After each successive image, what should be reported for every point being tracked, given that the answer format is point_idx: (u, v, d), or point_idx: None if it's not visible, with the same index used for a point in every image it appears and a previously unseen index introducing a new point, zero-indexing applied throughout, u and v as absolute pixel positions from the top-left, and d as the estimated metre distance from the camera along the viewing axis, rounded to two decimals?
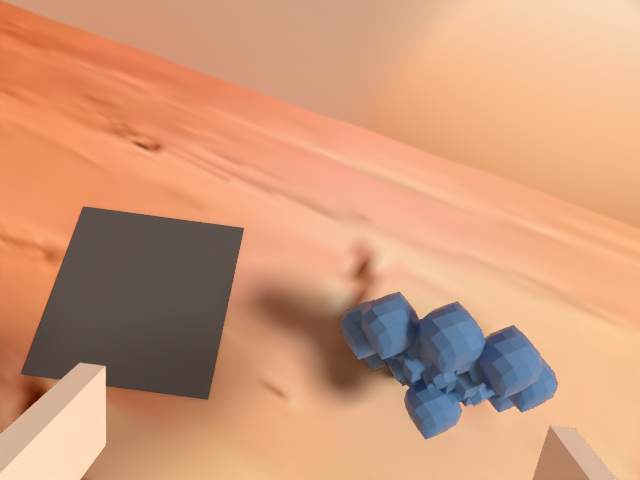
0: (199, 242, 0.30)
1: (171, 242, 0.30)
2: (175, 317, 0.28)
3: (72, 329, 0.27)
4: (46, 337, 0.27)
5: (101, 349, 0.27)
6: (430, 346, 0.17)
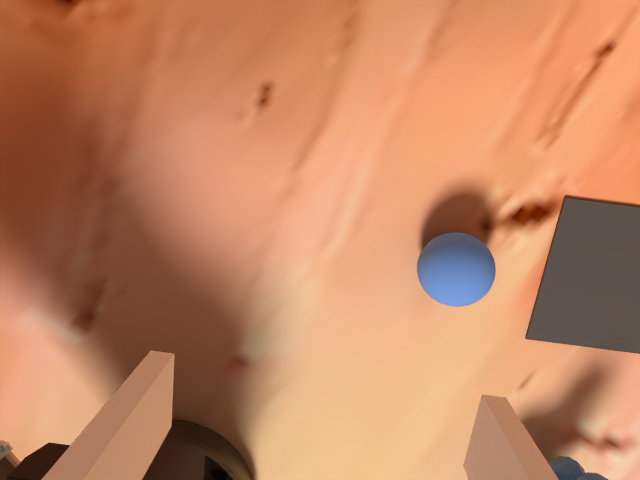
0: None
1: None
2: (595, 310, 0.34)
3: (598, 231, 0.32)
4: (594, 211, 0.32)
5: (576, 257, 0.33)
6: None
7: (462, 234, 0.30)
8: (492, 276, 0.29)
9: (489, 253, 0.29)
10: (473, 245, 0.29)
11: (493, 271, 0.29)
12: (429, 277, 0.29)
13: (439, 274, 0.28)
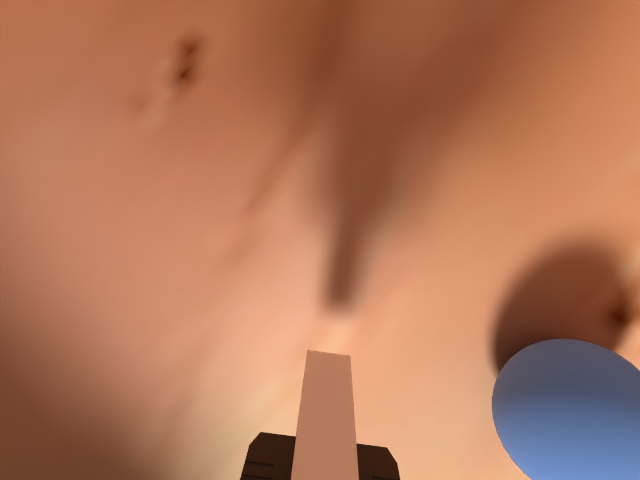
0: None
1: None
2: None
3: None
4: None
5: None
6: None
7: (596, 352, 0.14)
8: None
9: None
10: (632, 386, 0.13)
11: None
12: (531, 449, 0.14)
13: (558, 451, 0.13)
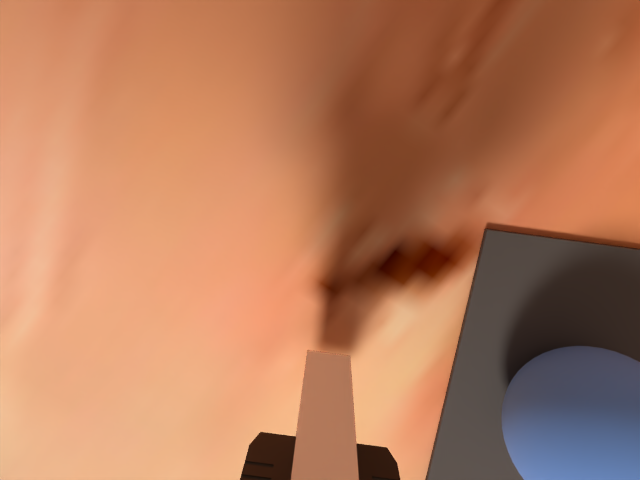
0: None
1: None
2: None
3: (558, 299, 0.15)
4: (549, 258, 0.15)
5: (515, 351, 0.16)
6: None
7: (606, 354, 0.13)
8: (526, 432, 0.13)
9: (564, 397, 0.12)
10: (558, 359, 0.13)
11: (535, 427, 0.12)
12: None
13: None
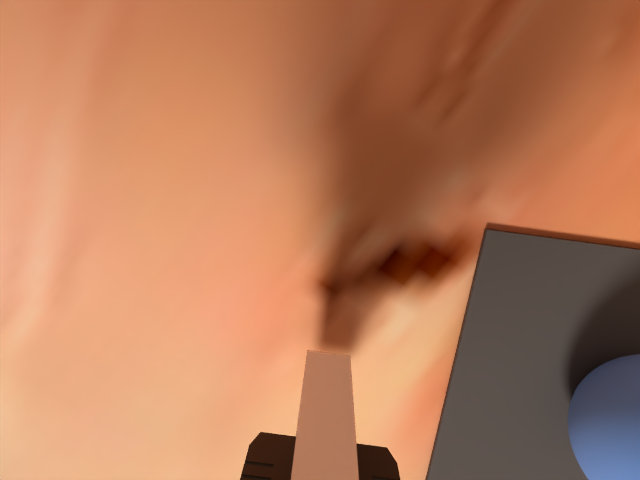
0: None
1: None
2: (555, 452, 0.17)
3: (558, 299, 0.15)
4: (549, 258, 0.15)
5: (515, 351, 0.16)
6: None
7: None
8: None
9: None
10: None
11: None
12: None
13: (572, 408, 0.14)
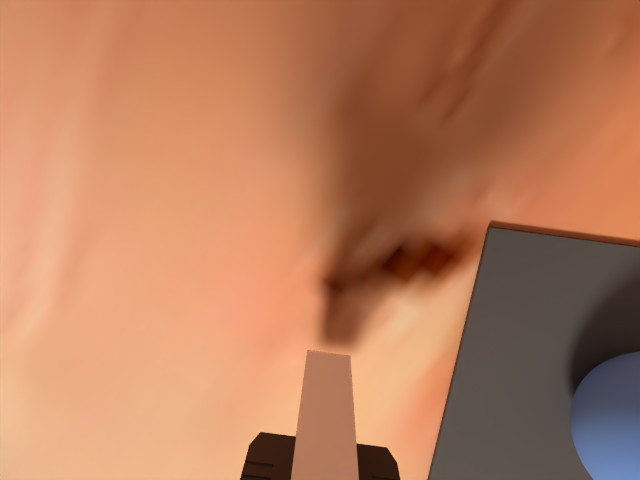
0: None
1: None
2: (558, 449, 0.17)
3: (561, 297, 0.15)
4: (552, 256, 0.15)
5: (518, 348, 0.16)
6: None
7: None
8: None
9: None
10: None
11: None
12: (571, 406, 0.15)
13: (574, 405, 0.15)
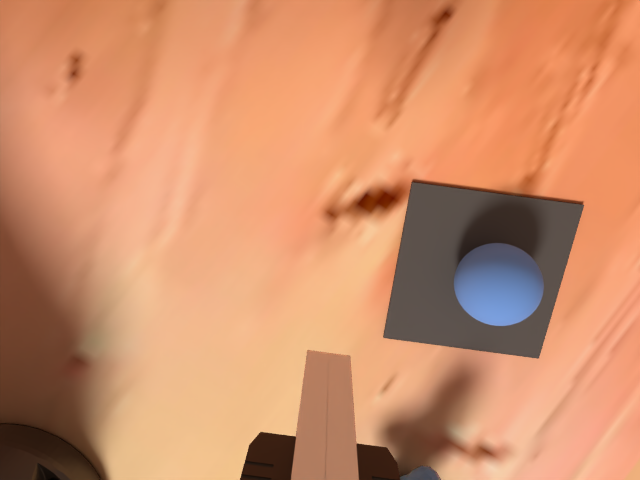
0: (528, 320, 0.31)
1: None
2: (455, 307, 0.31)
3: (450, 219, 0.29)
4: (444, 197, 0.29)
5: (430, 248, 0.30)
6: None
7: (502, 244, 0.27)
8: (496, 292, 0.25)
9: (507, 268, 0.25)
10: (490, 253, 0.26)
11: (500, 287, 0.25)
12: None
13: (455, 272, 0.28)
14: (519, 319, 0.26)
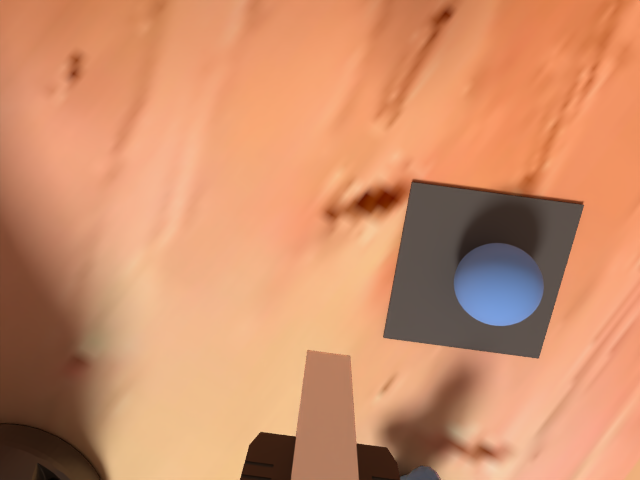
0: (528, 320, 0.31)
1: None
2: (455, 306, 0.31)
3: (450, 219, 0.29)
4: (444, 197, 0.29)
5: (430, 248, 0.30)
6: None
7: (502, 244, 0.27)
8: (496, 292, 0.25)
9: (507, 268, 0.25)
10: (490, 253, 0.26)
11: (500, 287, 0.25)
12: None
13: (455, 272, 0.28)
14: (519, 319, 0.26)
